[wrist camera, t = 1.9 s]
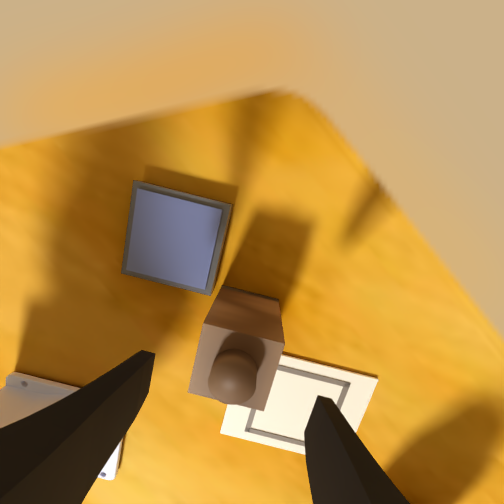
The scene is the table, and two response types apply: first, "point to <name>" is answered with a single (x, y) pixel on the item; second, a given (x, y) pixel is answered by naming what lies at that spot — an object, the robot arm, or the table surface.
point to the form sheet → (299, 403)
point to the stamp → (239, 349)
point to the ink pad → (175, 237)
